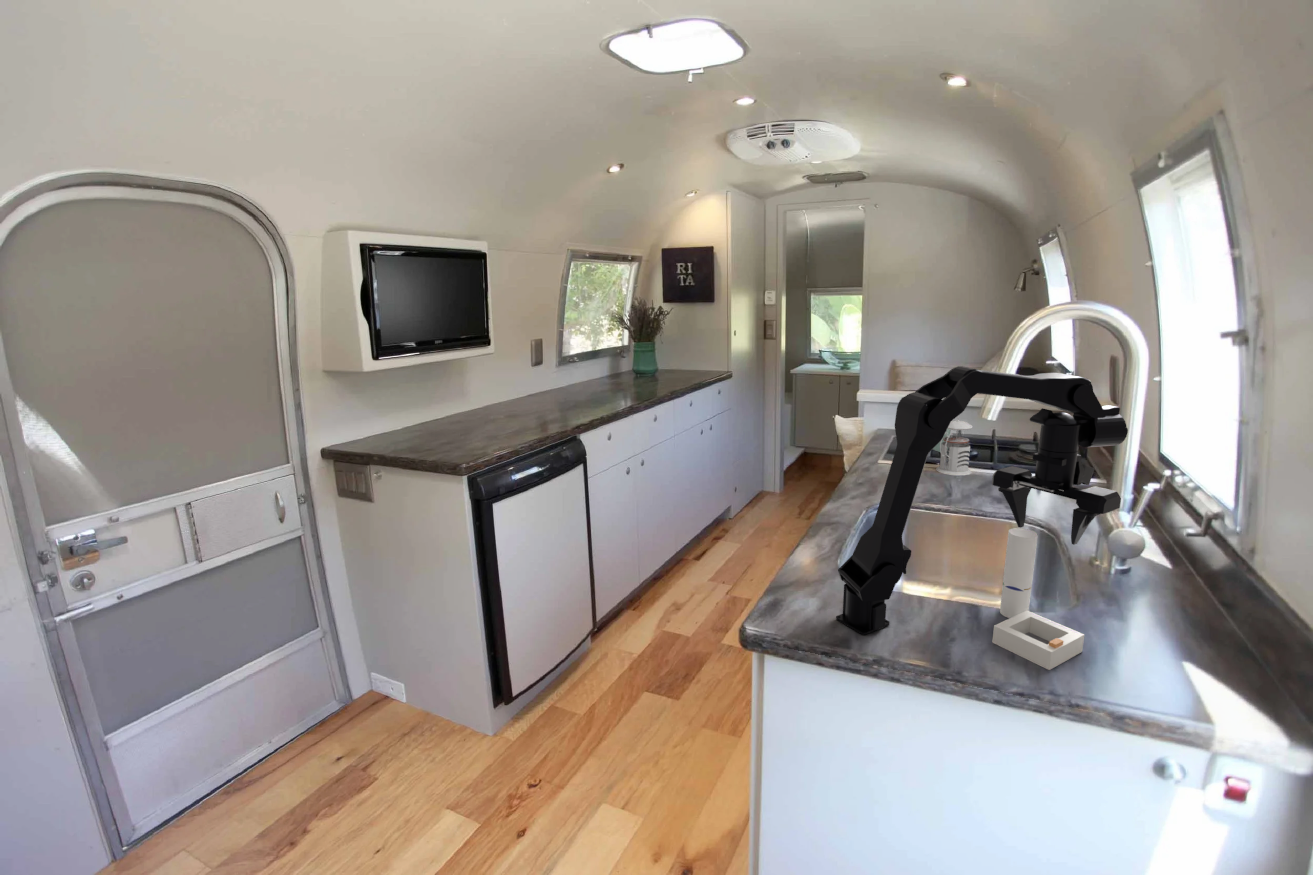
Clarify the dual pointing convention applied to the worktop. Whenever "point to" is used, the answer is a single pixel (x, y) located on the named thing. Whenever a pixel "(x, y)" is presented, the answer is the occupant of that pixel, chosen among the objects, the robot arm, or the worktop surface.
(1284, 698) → the worktop surface
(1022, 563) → the tube
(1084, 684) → the worktop surface
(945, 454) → the french press
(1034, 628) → the white hollow square block
